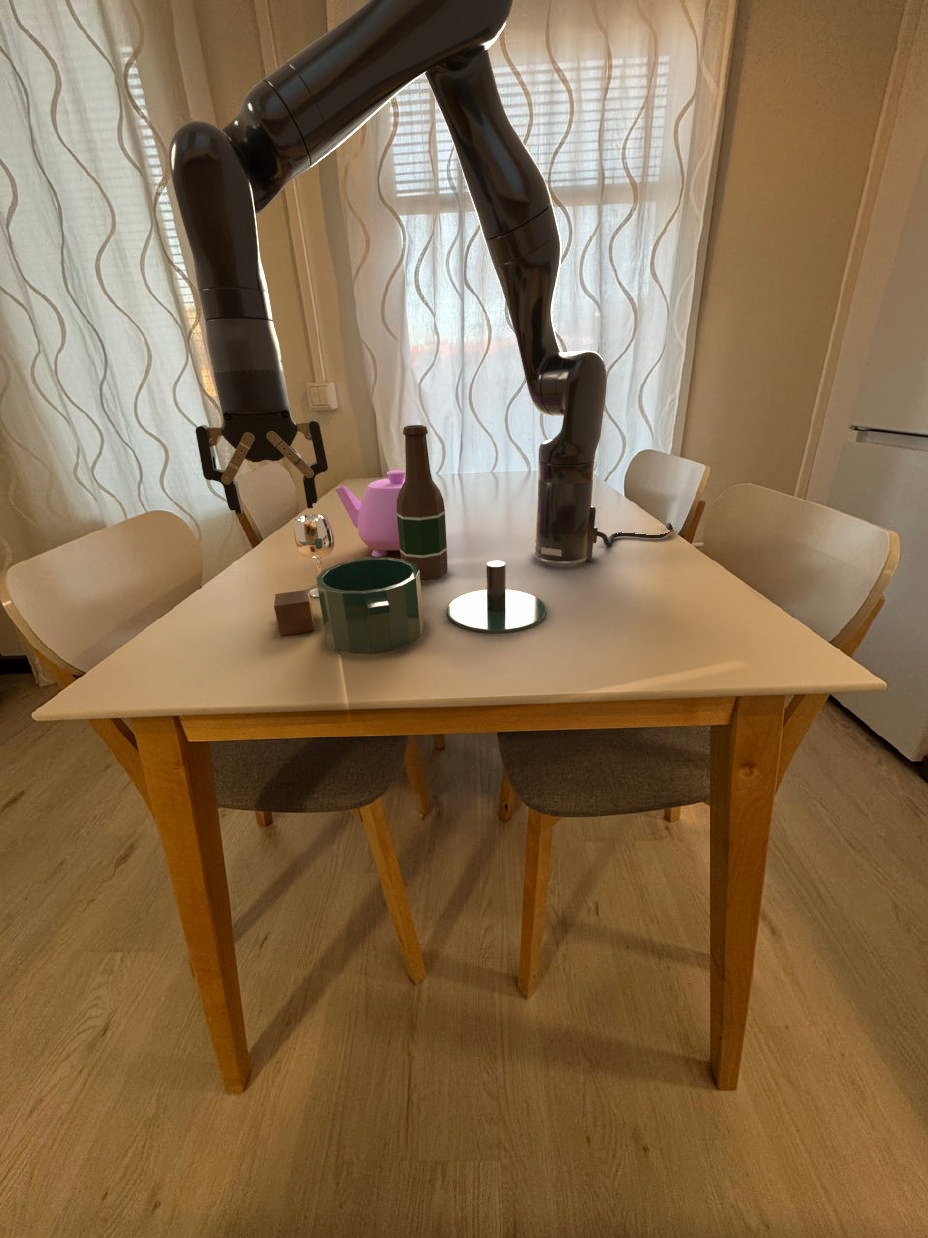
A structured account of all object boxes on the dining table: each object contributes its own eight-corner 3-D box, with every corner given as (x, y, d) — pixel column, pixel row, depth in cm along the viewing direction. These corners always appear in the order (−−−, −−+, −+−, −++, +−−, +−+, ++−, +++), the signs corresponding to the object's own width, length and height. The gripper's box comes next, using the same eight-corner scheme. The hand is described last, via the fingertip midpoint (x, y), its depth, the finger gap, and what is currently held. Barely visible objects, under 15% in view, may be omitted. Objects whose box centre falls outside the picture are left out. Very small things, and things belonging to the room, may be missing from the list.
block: (313, 617, 72) (308, 589, 70) (314, 631, 68) (308, 601, 66) (281, 622, 70) (275, 593, 69) (280, 636, 67) (273, 606, 65)
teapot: (363, 532, 112) (354, 462, 105) (451, 532, 109) (448, 461, 102) (329, 561, 94) (317, 479, 88) (434, 562, 91) (429, 478, 85)
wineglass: (332, 599, 77) (320, 523, 72) (298, 597, 79) (283, 522, 73) (347, 585, 82) (337, 513, 77) (315, 584, 84) (303, 512, 78)
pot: (409, 601, 76) (404, 547, 72) (438, 657, 60) (433, 592, 56) (324, 614, 73) (314, 558, 69) (330, 676, 57) (319, 609, 53)
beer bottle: (457, 574, 86) (451, 424, 75) (424, 587, 81) (412, 428, 70) (426, 564, 90) (416, 422, 80) (393, 576, 85) (378, 427, 75)
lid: (522, 590, 78) (523, 543, 75) (562, 627, 66) (565, 573, 63) (437, 603, 75) (434, 554, 71) (463, 644, 63) (461, 588, 60)
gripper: (172, 368, 52) (210, 523, 59) (314, 365, 55) (334, 511, 62) (186, 370, 58) (219, 509, 65) (312, 367, 62) (331, 499, 69)
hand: (275, 510), depth 64 cm, fingers open, 8 cm apart
